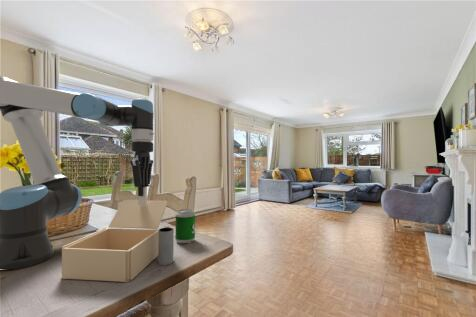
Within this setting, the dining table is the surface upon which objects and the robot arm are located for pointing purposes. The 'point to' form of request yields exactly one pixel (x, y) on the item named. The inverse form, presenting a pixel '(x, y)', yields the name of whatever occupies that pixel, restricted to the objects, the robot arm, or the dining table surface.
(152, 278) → the dining table surface
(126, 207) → the flap
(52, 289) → the dining table surface
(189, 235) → the soda can
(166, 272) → the dining table surface
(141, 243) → the carton
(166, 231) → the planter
